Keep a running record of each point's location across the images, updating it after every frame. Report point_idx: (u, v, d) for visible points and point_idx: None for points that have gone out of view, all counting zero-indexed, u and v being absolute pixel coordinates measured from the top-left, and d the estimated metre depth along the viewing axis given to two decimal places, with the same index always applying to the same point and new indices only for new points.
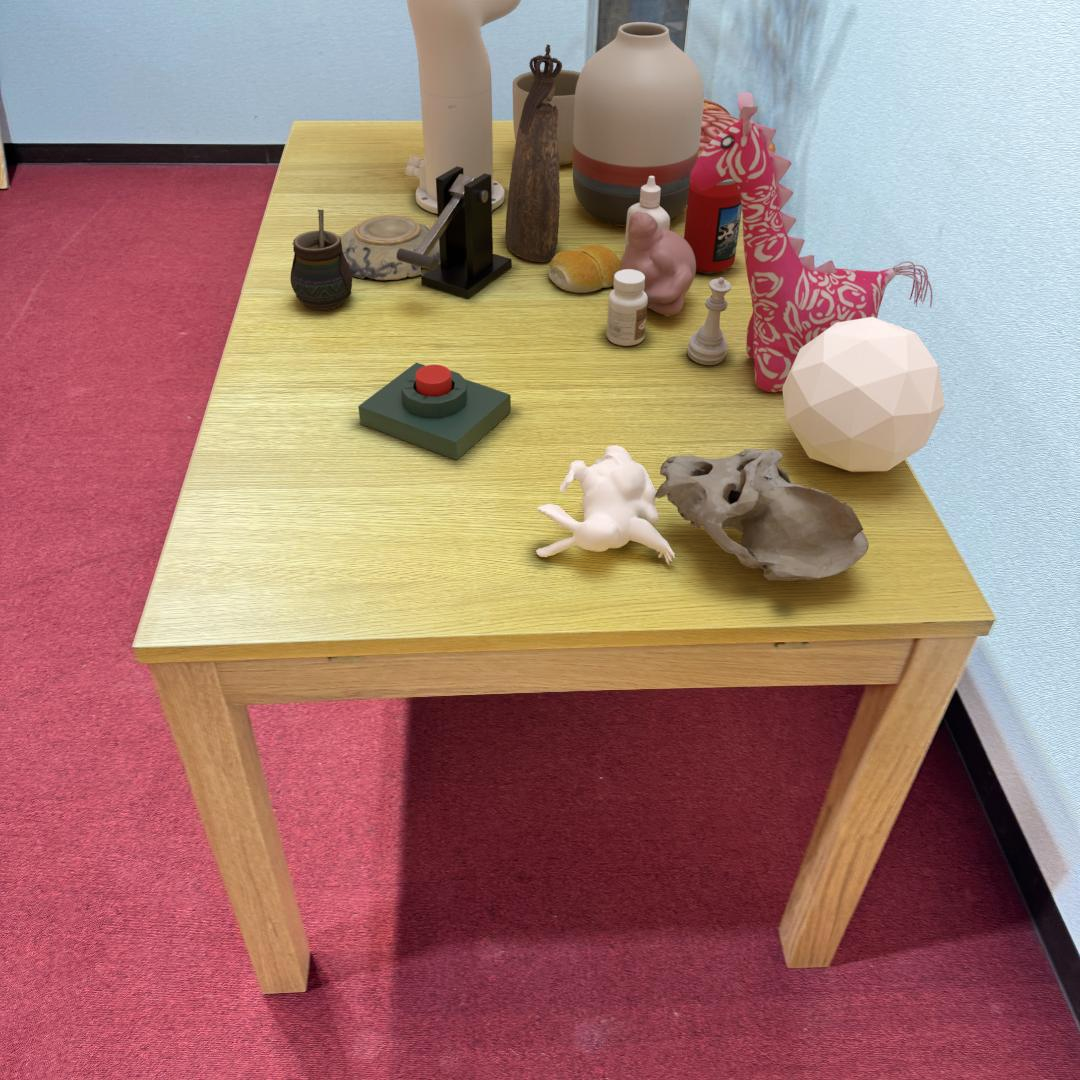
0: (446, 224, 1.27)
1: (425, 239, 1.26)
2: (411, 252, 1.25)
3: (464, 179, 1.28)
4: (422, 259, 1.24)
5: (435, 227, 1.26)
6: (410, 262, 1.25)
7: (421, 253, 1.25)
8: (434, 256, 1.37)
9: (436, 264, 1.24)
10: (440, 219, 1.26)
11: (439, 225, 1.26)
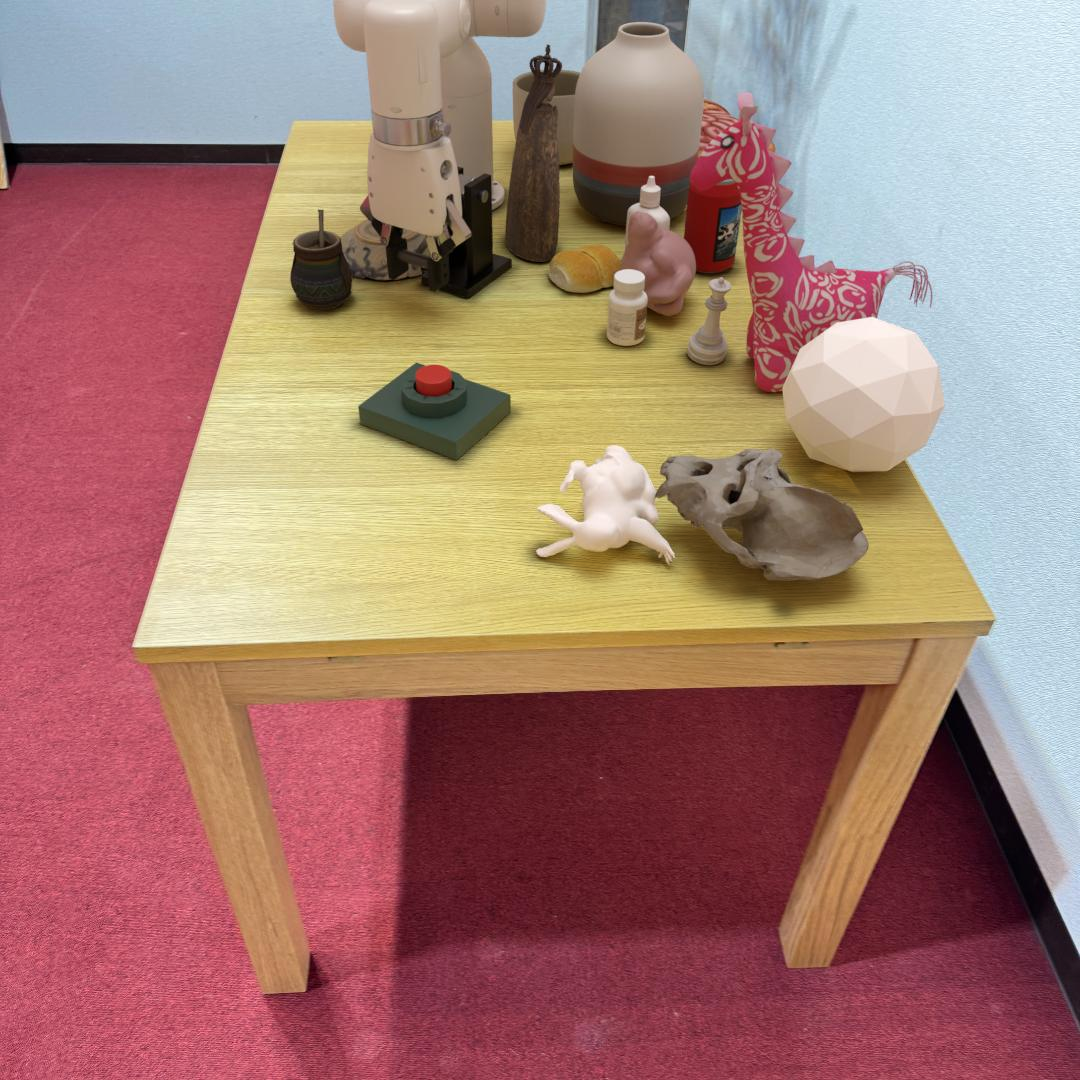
0: (446, 224, 1.27)
1: (425, 239, 1.26)
2: (411, 252, 1.25)
3: (464, 179, 1.28)
4: (422, 259, 1.24)
5: None
6: (410, 262, 1.25)
7: (421, 253, 1.25)
8: None
9: None
10: None
11: None
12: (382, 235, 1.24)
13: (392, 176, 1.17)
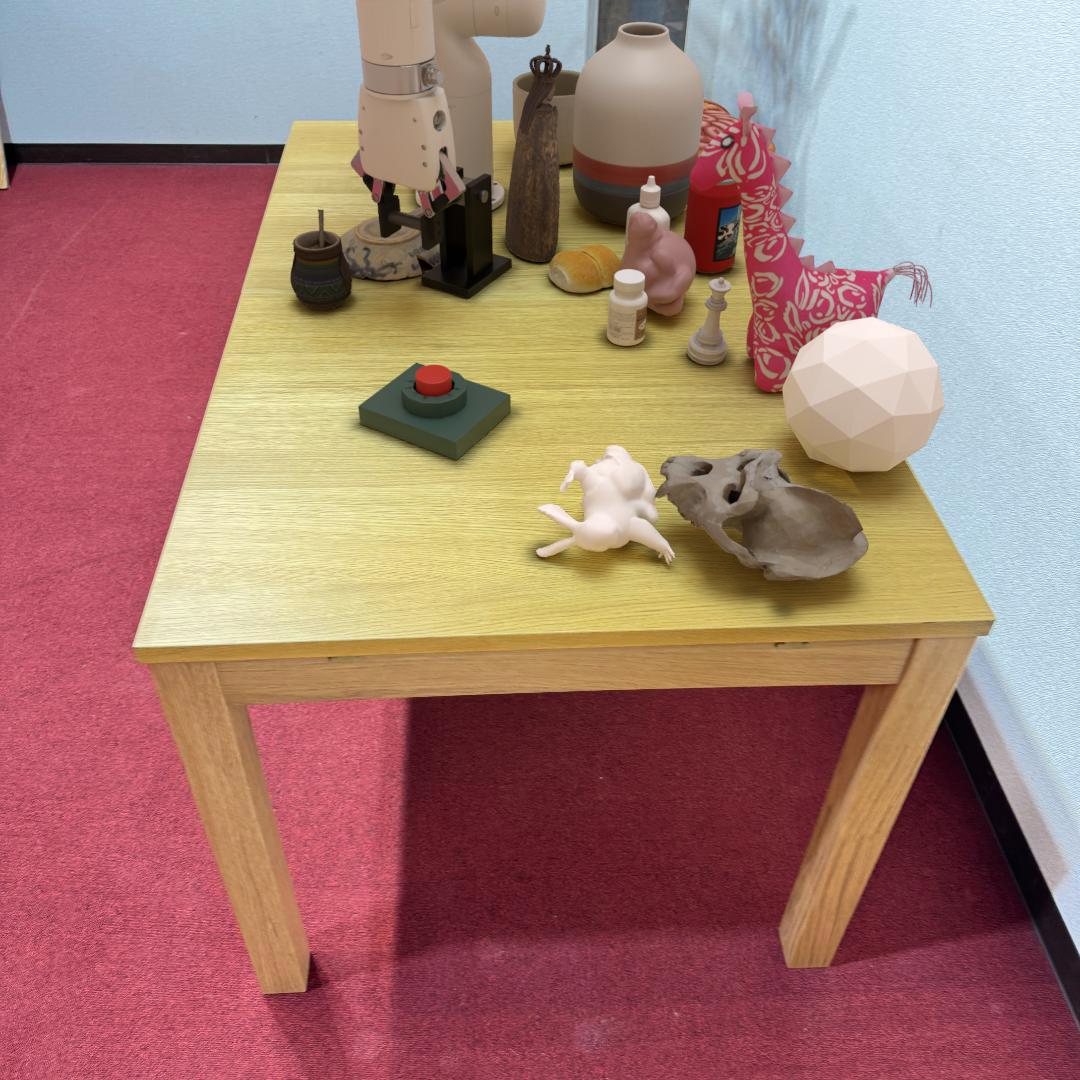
0: None
1: (420, 208, 1.23)
2: (404, 213, 1.21)
3: (467, 179, 1.28)
4: (415, 218, 1.20)
5: None
6: (401, 221, 1.21)
7: (415, 215, 1.21)
8: (434, 256, 1.37)
9: None
10: None
11: None
12: (374, 191, 1.20)
13: (383, 128, 1.13)
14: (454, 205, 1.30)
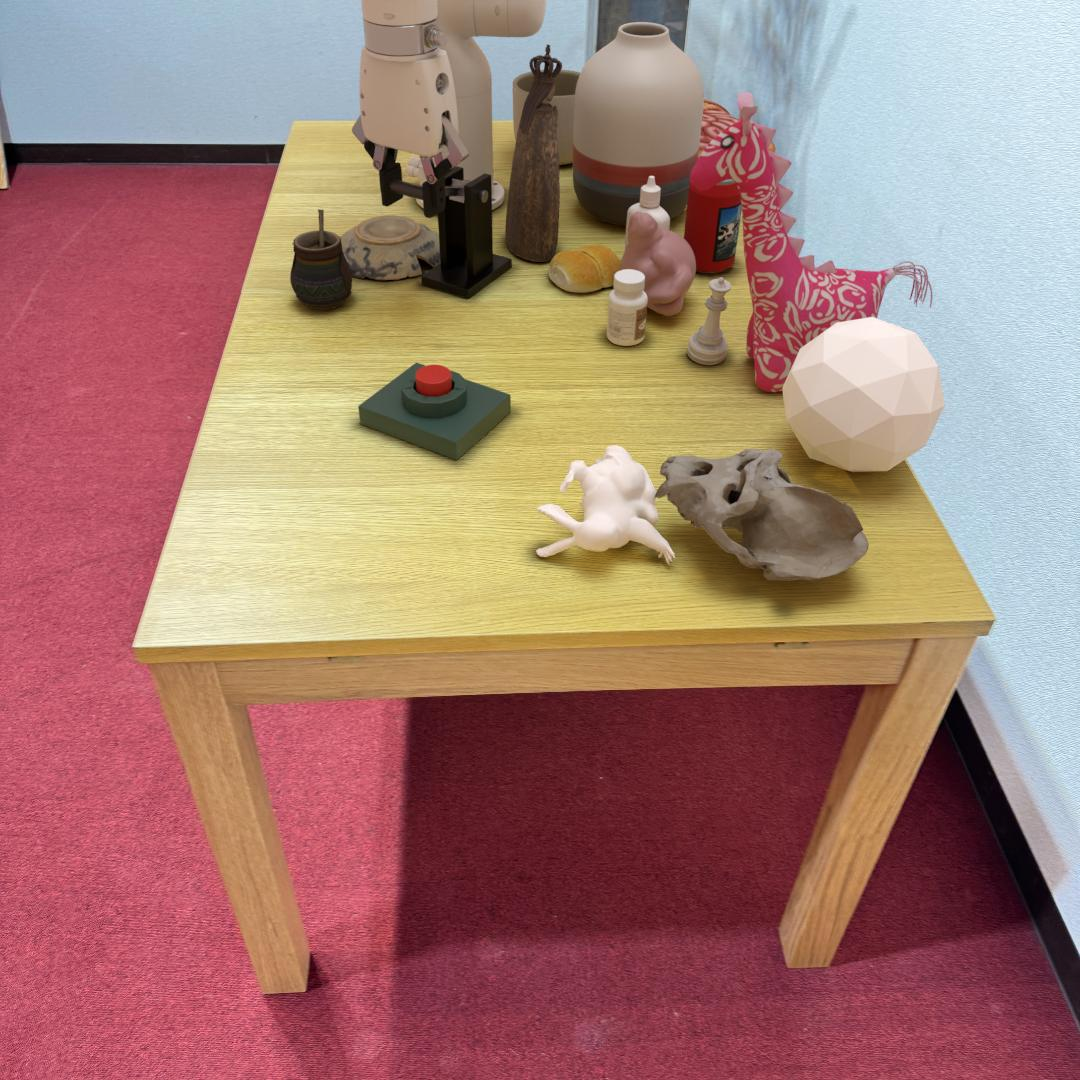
0: None
1: None
2: None
3: (469, 181, 1.29)
4: (418, 186, 1.18)
5: None
6: (403, 188, 1.19)
7: None
8: (434, 256, 1.37)
9: None
10: None
11: None
12: (375, 158, 1.18)
13: (385, 91, 1.11)
14: (454, 205, 1.30)
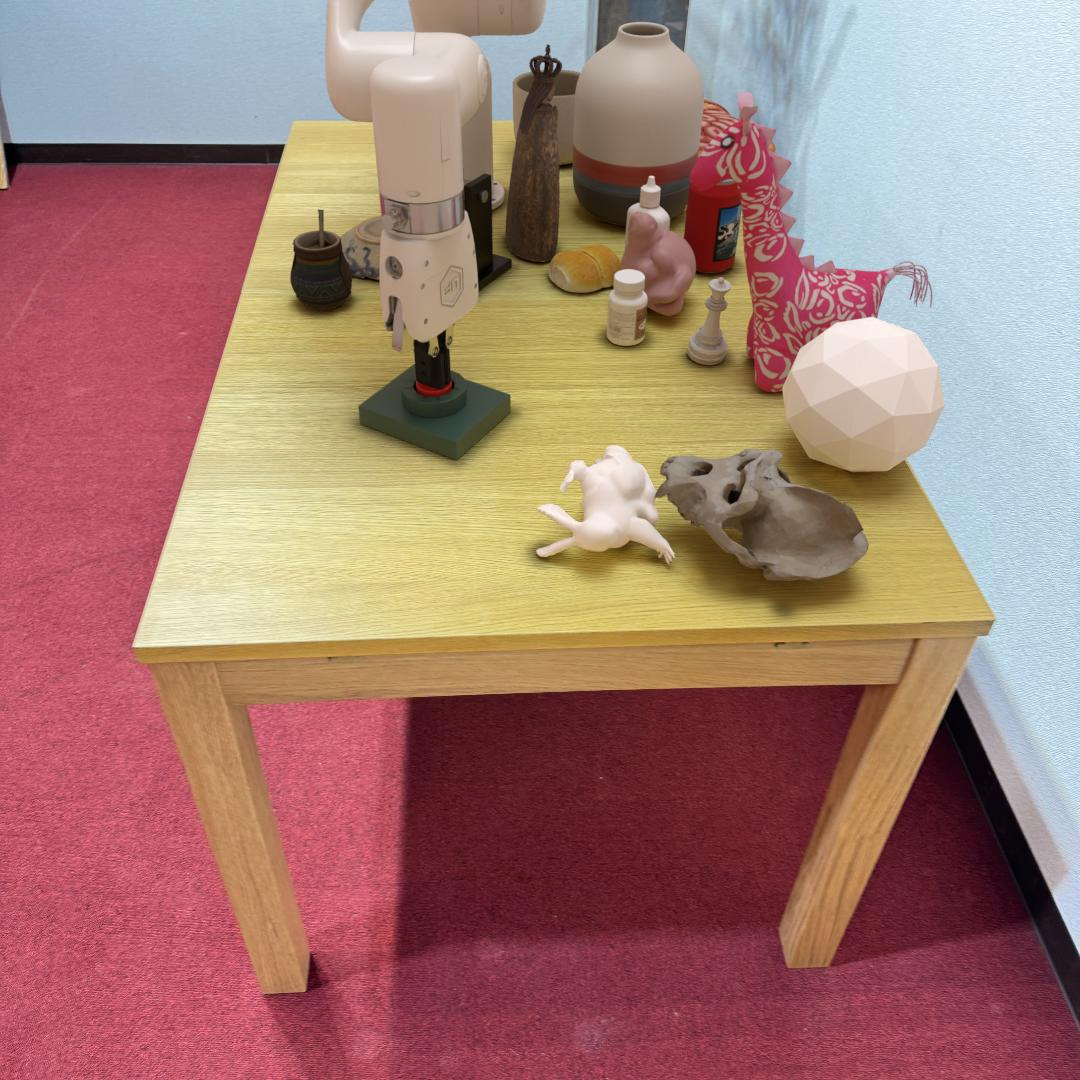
0: None
1: None
2: None
3: (469, 181, 1.29)
4: None
5: None
6: None
7: None
8: None
9: None
10: None
11: None
12: None
13: None
14: None
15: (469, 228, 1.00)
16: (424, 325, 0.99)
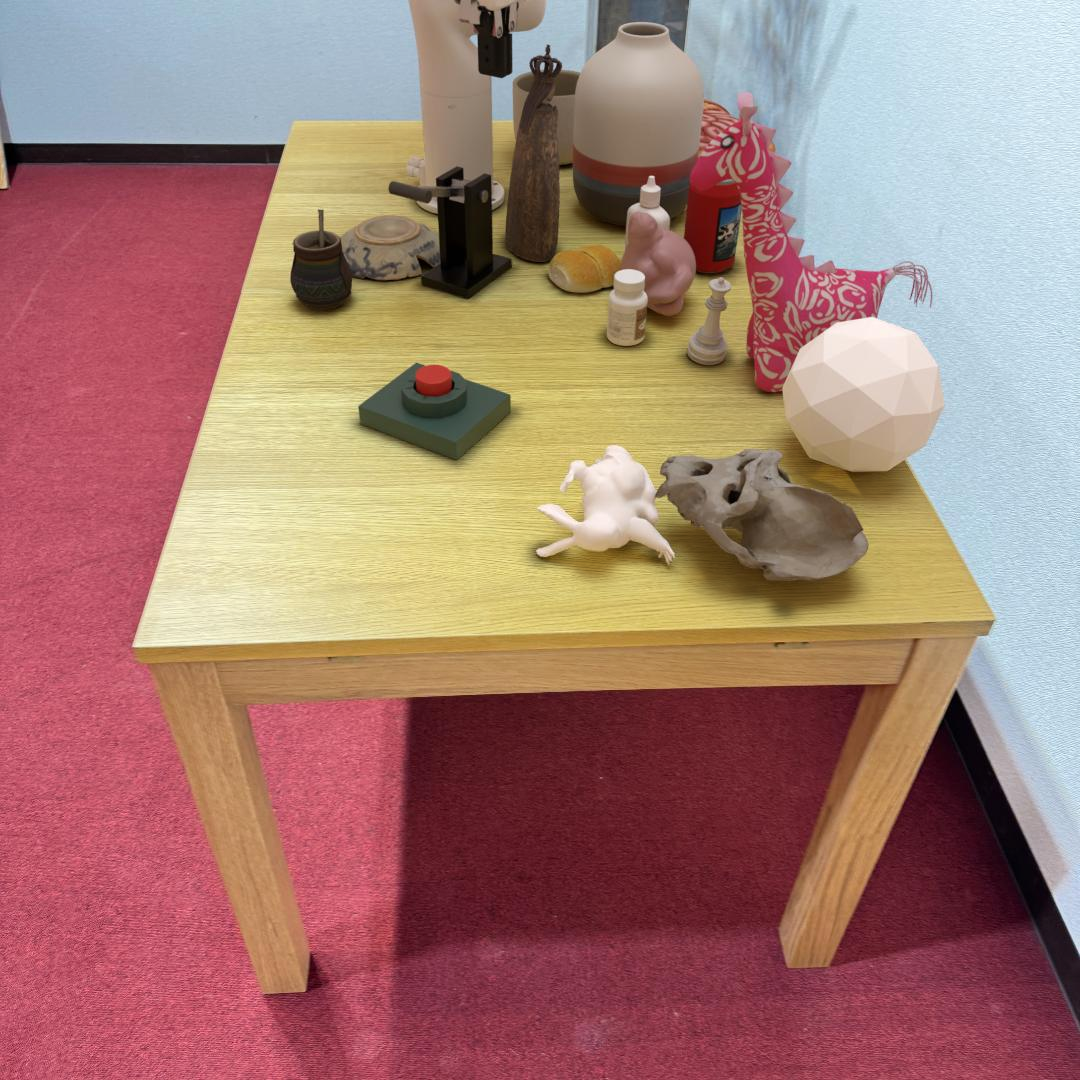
0: (443, 193, 1.24)
1: (422, 186, 1.21)
2: None
3: (469, 181, 1.29)
4: (418, 188, 1.18)
5: (433, 187, 1.23)
6: (402, 190, 1.19)
7: None
8: (434, 256, 1.37)
9: (429, 199, 1.19)
10: (439, 186, 1.24)
11: (437, 187, 1.23)
12: None
13: None
14: (454, 205, 1.30)
15: None
16: None
